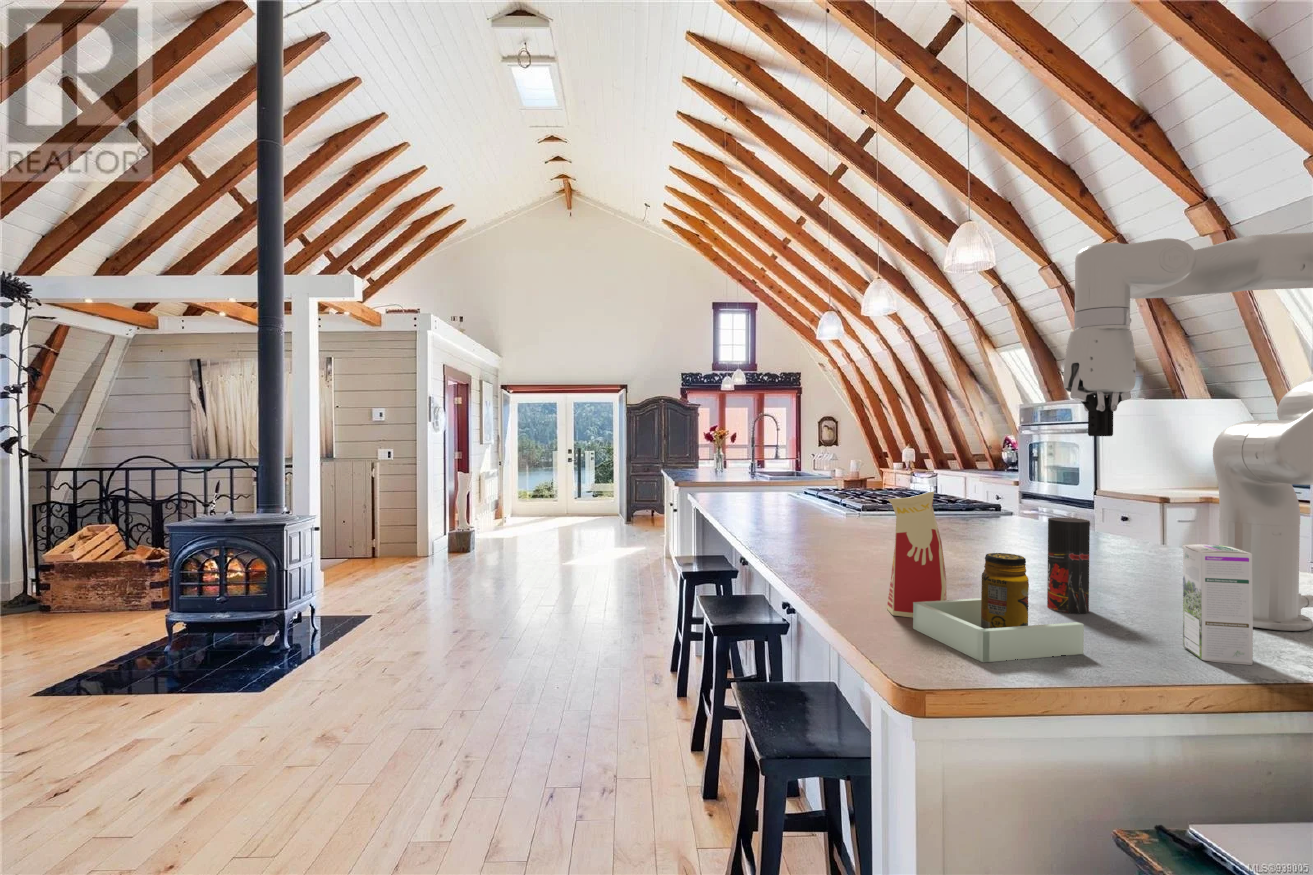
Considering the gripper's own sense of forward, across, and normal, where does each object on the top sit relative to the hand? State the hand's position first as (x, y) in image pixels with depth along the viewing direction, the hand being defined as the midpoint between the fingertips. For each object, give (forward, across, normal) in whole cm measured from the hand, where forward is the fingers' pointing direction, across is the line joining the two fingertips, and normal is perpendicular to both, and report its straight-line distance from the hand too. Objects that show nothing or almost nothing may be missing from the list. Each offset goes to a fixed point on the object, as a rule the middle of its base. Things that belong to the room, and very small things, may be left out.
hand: (1100, 435), depth 109 cm
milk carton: (+29, +28, -8) cm, 41 cm away
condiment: (+29, +25, +7) cm, 39 cm away
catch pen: (+29, +26, +8) cm, 40 cm away
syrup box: (+29, +2, +20) cm, 36 cm away
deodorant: (+29, +2, -4) cm, 30 cm away
